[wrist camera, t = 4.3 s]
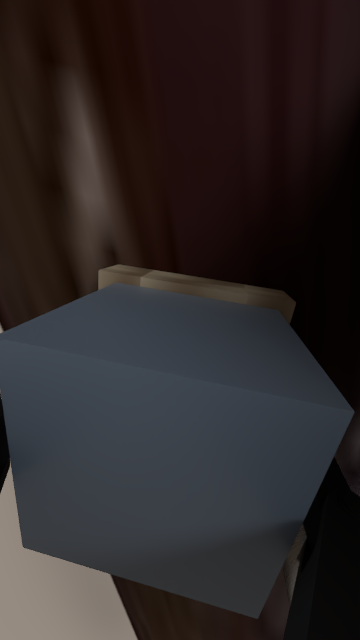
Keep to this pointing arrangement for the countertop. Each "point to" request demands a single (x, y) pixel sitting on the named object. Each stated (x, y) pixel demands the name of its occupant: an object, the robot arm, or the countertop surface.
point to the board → (199, 287)
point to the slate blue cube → (168, 439)
